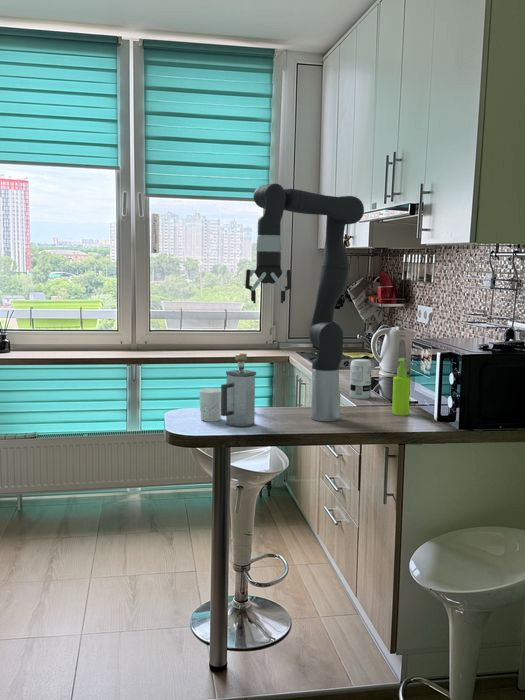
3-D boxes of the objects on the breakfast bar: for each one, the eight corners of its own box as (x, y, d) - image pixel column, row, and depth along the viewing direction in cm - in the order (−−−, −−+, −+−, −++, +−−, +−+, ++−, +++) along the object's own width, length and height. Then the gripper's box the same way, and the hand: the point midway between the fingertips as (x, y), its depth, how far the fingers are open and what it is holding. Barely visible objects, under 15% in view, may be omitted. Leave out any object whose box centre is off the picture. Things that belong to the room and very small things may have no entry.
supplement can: (347, 395, 270) (348, 358, 268) (367, 395, 271) (368, 358, 269) (352, 399, 262) (353, 361, 260) (372, 399, 263) (374, 361, 261)
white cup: (219, 422, 221) (219, 393, 219) (196, 421, 222) (196, 391, 221) (225, 417, 228) (225, 388, 227) (203, 416, 230) (203, 387, 229)
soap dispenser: (389, 415, 235) (392, 359, 232) (393, 411, 241) (395, 356, 239) (406, 416, 233) (408, 360, 230) (410, 412, 239) (412, 357, 237)
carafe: (243, 419, 226) (244, 368, 224) (262, 424, 219) (263, 371, 217) (213, 425, 217) (213, 372, 214) (232, 430, 210) (232, 375, 208)
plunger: (240, 413, 221) (241, 353, 218) (248, 414, 218) (249, 354, 216) (232, 414, 218) (233, 354, 216) (240, 416, 216) (240, 355, 213)
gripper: (291, 251, 210) (290, 302, 212) (246, 250, 210) (245, 302, 212) (292, 250, 202) (291, 304, 204) (245, 250, 202) (244, 303, 204)
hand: (268, 303), depth 208 cm, fingers open, 8 cm apart
